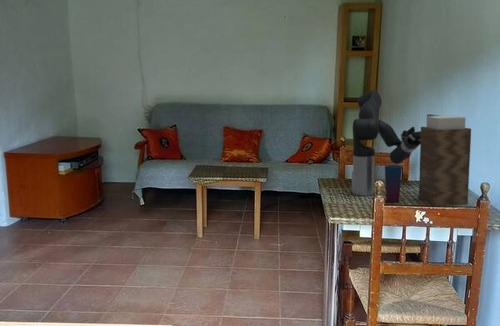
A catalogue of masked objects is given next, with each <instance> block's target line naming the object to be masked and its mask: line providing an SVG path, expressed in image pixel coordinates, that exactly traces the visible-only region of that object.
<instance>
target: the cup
mask: <svg viewBox="0 0 500 326" xmlns="http://www.w3.org/2000/svg"><path fill="white" fill-rule="evenodd" d="M402 171H403V165H401V164H395V163H392V164H391V163H390V164H389V163H388V164H385V165H384V176H385V177H384V178H385V179H384V183H385V201H386V203H391V204H394V203H399V202H400V194H401V193H400V191H401V184H402V183H401V181H402Z"/></svg>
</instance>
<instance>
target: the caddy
mask: <svg viewBox="0 0 500 326" xmlns="http://www.w3.org/2000/svg"><path fill="white" fill-rule="evenodd" d="M426 127H427V128H432V129H436V130H447V129H465V128H466V117H465V116H459V115H458V116H457V115H438V114H431V113H430V114H429V113H428V114H427V115H426Z"/></svg>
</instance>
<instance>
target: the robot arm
mask: <svg viewBox="0 0 500 326" xmlns="http://www.w3.org/2000/svg"><path fill="white" fill-rule="evenodd" d="M356 100H357V101H356V102H357V105H358V107H359V111H358V112H359V113H358V118H355V119H354V120H353V121H352V146H353V147H352V149H353V150H352V151H353V152H352V170H351V193H352V194H353V195H354V196H361V197H362V196H363V197H364V196H365V197H366V196H372V195H375V158H376V157H375V155H376V154H375V153H376V151H375V149H374V148H373V147H370V146H367V145H366V144H364V143H363V142H362V141H374V140H376V139H377V138H378V137H379V136H380V137H381V139H382V140H383V142H384V144H385V145H386V147H388V148H391V147H393V146H395V148H394V149H393V150H392V151H391V152H390V154H389V160H390V161H391V162H392V164H397V165H400V163H402V162H404V161H406V160H407V159H409V158H410V157H411V155H412V153H413V152H414V151H415V150H416V149H417V148H418V147H419V146H420V142H421V130H419V131H416V128H415V126H412V127H410V128H409V129H408V130H406V129H405V130H403V131H402V132H401V134H400V138H399V137H398V134H397V133H396V132H395V130H394V129H393V127H392V126H391V125H390V124H388V123H386V122H385V121H383V120H381V119H379V116H380V108H381V106H382V104H383V103H382V97H381V95H380V93H378V91H377V90H373V89H372V90H370V91H367V92H366V93H364V94H363V95H361V96H359V97H358V98H357V99H356ZM378 134H379V136H378Z"/></svg>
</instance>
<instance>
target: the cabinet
mask: <svg viewBox="0 0 500 326" xmlns="http://www.w3.org/2000/svg"><path fill="white" fill-rule="evenodd" d="M420 131H421V142H420V145H419V146H420V149H419V175H418V176H419V179H418V180H419V181H418V182H419V183H418V184H419V185H418V198H420V199H421V200H423V201H425V203H428V204H429V205H431V206H433V205H435V206H452V205H453V206H457V205H468V202H469V182H470V181H469V180H470V179H469V178H470V166H471V165H470V161H471V143H472V142H471V139H472V128H469V127H465V129H447V130H436V129H432V128H427V126H420Z"/></svg>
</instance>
